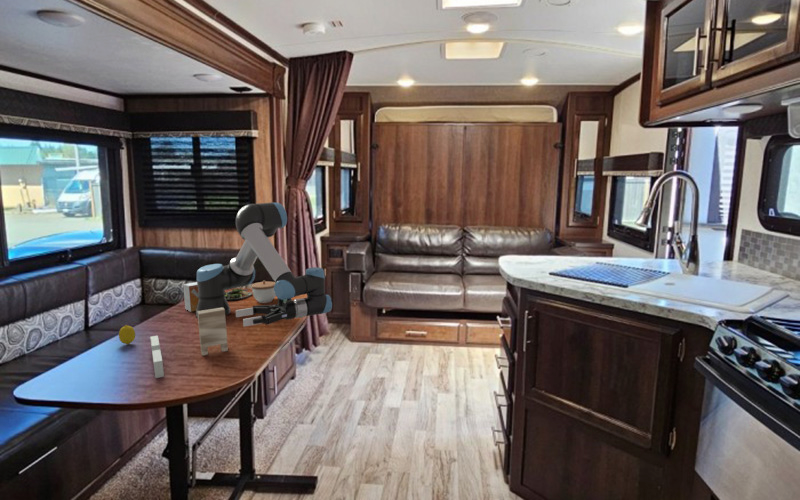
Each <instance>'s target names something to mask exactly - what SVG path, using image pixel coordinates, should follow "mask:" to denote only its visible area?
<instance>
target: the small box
mask: <svg viewBox="0 0 800 500" xmlns="http://www.w3.org/2000/svg"><path fill="white" fill-rule="evenodd" d="M182 285H183V286H182V287H183V298H184V299H183V301H184V308H185V309H186V310H185V309H184V310H185V311H187V310H188V312H191V313H192V312H196V309H197V305H198V301H199V296H198V286H197V281H195V282H189V283H183V284H182Z"/></svg>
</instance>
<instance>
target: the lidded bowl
mask: <svg viewBox="0 0 800 500" xmlns="http://www.w3.org/2000/svg"><path fill="white" fill-rule="evenodd" d="M251 284H252V285H251V290H252V291H251V293H252V295H253V297H254V299H255V300H256V301H257V303H259V304H268V303H271V302H273V300H274V299H275V298H276V297H277V296H276V295H275V291H274V285H275V282H274V281H266V280H262V281H260V282H255V283H254V282H253V283H251Z"/></svg>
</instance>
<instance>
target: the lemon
mask: <svg viewBox="0 0 800 500" xmlns="http://www.w3.org/2000/svg"><path fill="white" fill-rule="evenodd" d="M118 339H119V341H120V342H121V343H123V344H124V345H125V344H126V345H127V346H128V345H130V344H131V343H133V342H134V341H135V339H136V331H135V329H134V327H133V326H130V325H127V324H125V325H124V326H122V327H121V328H120V329H119V331H118Z"/></svg>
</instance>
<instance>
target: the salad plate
mask: <svg viewBox="0 0 800 500" xmlns="http://www.w3.org/2000/svg"><path fill="white" fill-rule="evenodd" d="M248 290H249V289H248V288H247V289H242V287H239V288H233V289H232V290H228V291H225V298H226V300H227V302H236V301H240V300H244V299H247V298H249V297H250V296H252V295H253V292H252V291H248Z"/></svg>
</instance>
